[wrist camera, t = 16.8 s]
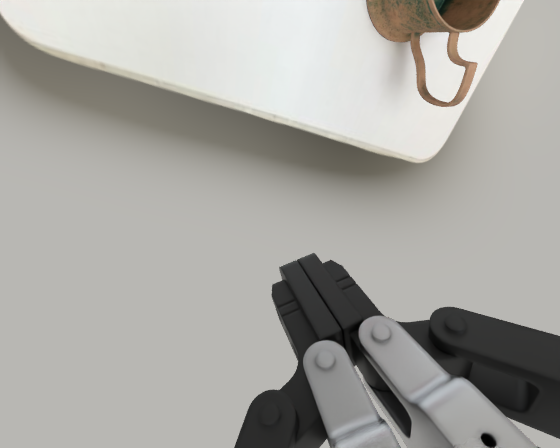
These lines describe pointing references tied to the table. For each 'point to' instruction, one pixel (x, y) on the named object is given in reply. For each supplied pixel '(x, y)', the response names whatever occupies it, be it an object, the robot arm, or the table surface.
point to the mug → (431, 18)
